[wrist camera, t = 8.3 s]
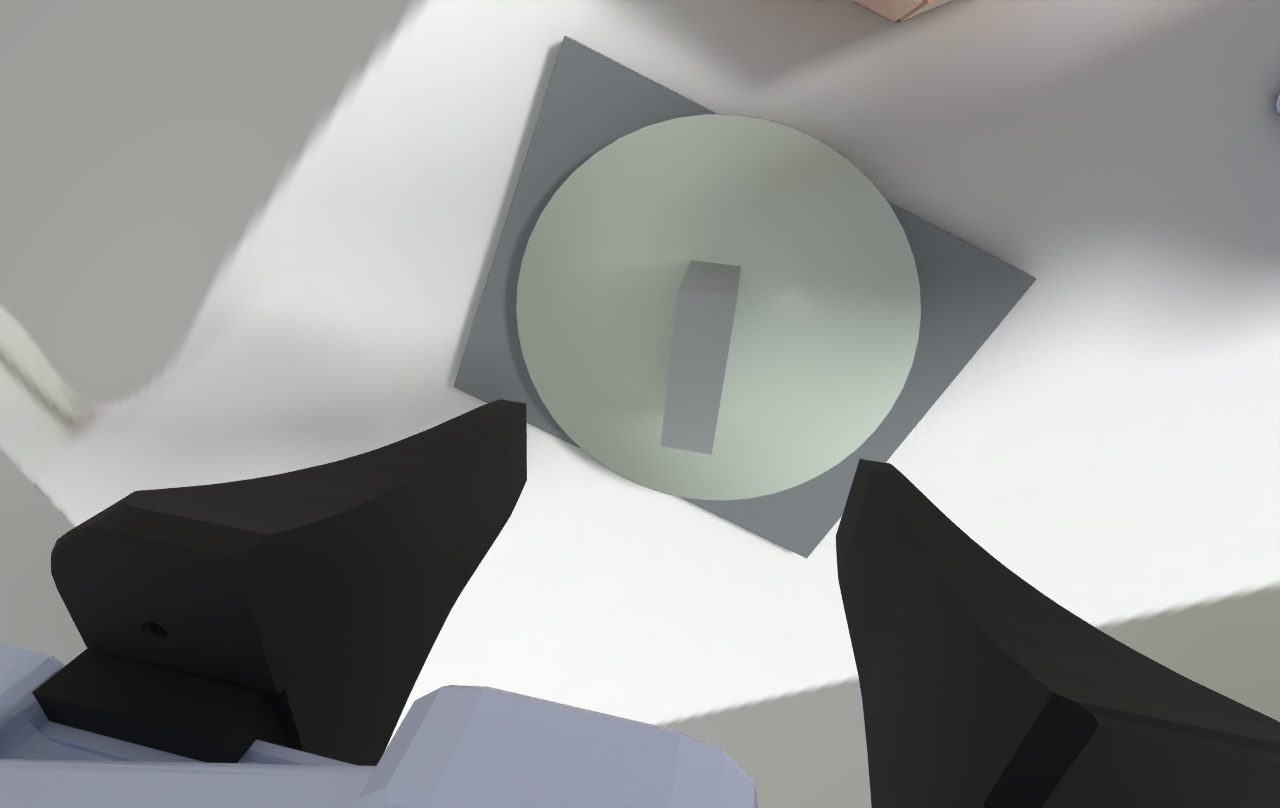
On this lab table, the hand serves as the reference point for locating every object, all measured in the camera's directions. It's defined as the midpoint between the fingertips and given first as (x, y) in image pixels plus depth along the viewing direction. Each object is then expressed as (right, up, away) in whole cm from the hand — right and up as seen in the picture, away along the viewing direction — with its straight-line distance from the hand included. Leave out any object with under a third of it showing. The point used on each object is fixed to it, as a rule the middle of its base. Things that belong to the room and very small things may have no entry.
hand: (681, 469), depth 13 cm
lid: (+2, +4, +8) cm, 9 cm away
